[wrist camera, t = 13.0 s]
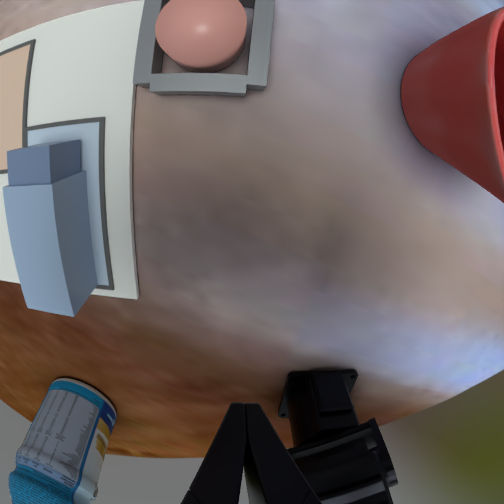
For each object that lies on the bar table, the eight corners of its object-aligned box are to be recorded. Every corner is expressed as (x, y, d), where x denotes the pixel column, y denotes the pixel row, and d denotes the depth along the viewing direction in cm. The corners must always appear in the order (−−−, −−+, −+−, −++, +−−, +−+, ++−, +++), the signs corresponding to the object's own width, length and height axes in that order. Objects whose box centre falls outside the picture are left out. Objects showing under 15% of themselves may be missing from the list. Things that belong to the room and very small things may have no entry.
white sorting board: (139, 295, 20) (136, 301, 20) (-10, 274, 19) (-14, 278, 18) (148, 2, 12) (144, -2, 12) (-22, 53, 11) (-27, 53, 10)
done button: (241, 74, 14) (242, 64, 12) (164, 73, 14) (149, 63, 11) (248, 9, 13) (250, -11, 10) (173, 8, 12) (161, -11, 10)
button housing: (262, 98, 15) (265, 95, 14) (143, 95, 15) (131, 92, 13) (272, -4, 13) (276, -17, 11) (156, -5, 12) (148, -17, 10)
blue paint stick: (97, 284, 19) (74, 316, 15) (54, 279, 19) (27, 307, 15) (86, 138, 15) (50, 145, 11) (38, 143, 15) (0, 152, 11)
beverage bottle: (81, 368, 23) (14, 548, 5) (134, 418, 27) (102, 580, 8) (39, 379, 25) (-23, 519, 6) (86, 424, 28) (49, 557, 10)
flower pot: (505, 135, 16) (595, 161, 7) (424, 205, 18) (520, 266, 10) (449, 17, 12) (541, -7, 3) (347, 70, 15) (444, 33, 6)
